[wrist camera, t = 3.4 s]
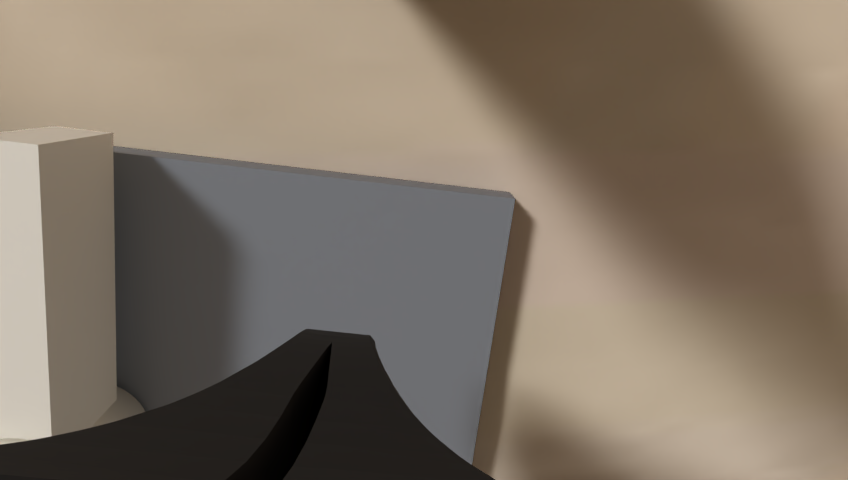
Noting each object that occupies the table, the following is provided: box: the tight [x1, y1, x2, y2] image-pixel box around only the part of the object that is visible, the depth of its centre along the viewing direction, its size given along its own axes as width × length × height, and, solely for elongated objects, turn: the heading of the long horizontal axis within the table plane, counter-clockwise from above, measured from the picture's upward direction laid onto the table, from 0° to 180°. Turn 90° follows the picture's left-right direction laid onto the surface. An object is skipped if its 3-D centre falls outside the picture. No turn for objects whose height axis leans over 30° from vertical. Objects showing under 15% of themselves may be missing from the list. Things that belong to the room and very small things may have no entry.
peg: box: [0, 126, 145, 445], centre depth 15 cm, size 15×4×4 cm, turn 173°
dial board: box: [113, 146, 515, 465], centre depth 18 cm, size 18×22×1 cm
